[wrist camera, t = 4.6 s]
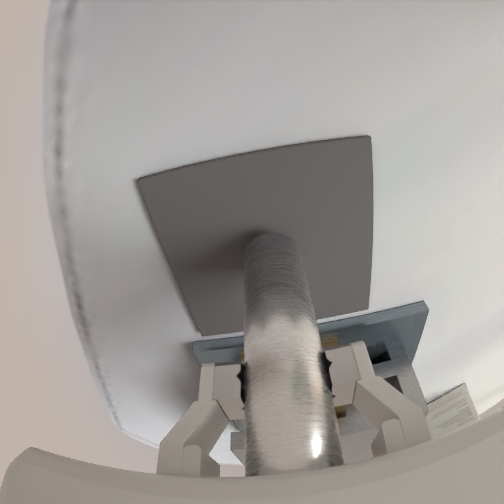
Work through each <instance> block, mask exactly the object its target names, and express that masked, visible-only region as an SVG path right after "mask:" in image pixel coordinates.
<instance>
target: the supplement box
mask: <svg viewBox="0 0 504 504" xmlns="http://www.w3.org/2000/svg"><path fill="white" fill-rule="evenodd" d="M427 407H428V410H429V413H428V414H427V416H426V417H425V420H426V423H427V426H428V429H429V433H430V436H431V439H434V438H437V437H440V436H442V435H445V434H447V433H450V432H452V431H454V430H457V429H459V428H461V427H464V426H466V425H468V424H470V423H472V422H475V421H477V420H479V419H480V417H479V415H478V412H477V410H476V407H475V405H474V403H473V400H472V398H471V395H470V393H469V391H468V388H467V386H466V383H464V384H462V385H460V386H459V387H457V388H455V389H454V390H452V391H450V392H449V393H447V394H445V395H443V396H442V397H440V398H438V399H436V400H435V401H433V402H431V403H429V404H427Z"/></svg>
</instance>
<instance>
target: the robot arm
mask: <svg viewBox="0 0 504 504" xmlns="http://www.w3.org/2000/svg"><path fill="white" fill-rule="evenodd" d="M323 354H324V359H325V364H326V368H327V372H328V378H329V383H330V388H331V393H332V397H333V402H334V407H335V406H341V405H346V404H352V403H353V404H352V405H353V406H354V407H355V408H356V409H357V410H358V411H359V412H360V413H361V414H362V415H363V416H364V417H365V418H366V419H367V420H368V421H369V422H370V423H371V424H372V425H373V426H374V427H375V428H376V429H377V430H378V433H377V435H376V437H375V439H374V441H373V443H372V444H371V449H372V454H373V458H371V459H367V460H362V461H358V462H354V463H349V464H344V465H339V466H334V467H329V468H323V469H317V470H310V471H304V472H297V473H288V474H277V475H265V476H249V477H220V465H219V464H218V463H217V462H216V461H215V460H213V459H212V458H211V457H210V456H209V455H208V454H209V453H210V451H211V450H212V448H213V447H214V445H215V444H216V442H217V440H218V439H219V437H220V436H221V434H222V432H223V431H224V429H225V428H226V426H227V424H228V423H229V420H236V419H245V417H244V363H243V361H231V362H219V363H205V364H202V367H201V374H200V384H199V394H198V401H194V402H193V403H192V405H191V406H190V407H189V408H188V410H187V411H186V412H185V413H184V415H183V416H182V417H181V418H180V420H179V421H178V422H177V423H176V424H175V426H174V427H173V428H172V429H171V431H170V432H169V433H168V434H167V435H166V437H165V438H164V439H163V440H162V441H161V443H160V448H159V455H158V463H157V472H156V474H153V473H144V472H137V471H130V470H123V469H117V468H112V467H106V466H101V465H96V464H92V463H88V462H83V461H79V460H75V459H71V458H67V457H64V456H60V455H56V454H53V453H50V452H47V451H43V450H41V449H38V448H33V447H30V448H27V449H26V450H24V451H23V452H22V453H21V454H20V455H19V456H18V457H16V458H15V459H14V460H13V461H12V462H11V463H10V465H9V466H8V468H7V471H6V473H5V476H4V479H3V482H2V486H1V490H0V504H504V407H502V408H500V409H499V410H497V411H495V412H493V413H491V414H489V415H487V416H485V417H483V418H481V419H479V420H477V421H475V422H472V423H470V424H468V425H466V426H464V427H461V428H459V429H457V430H454V431H452V432H450V433H447V434H445V435H442V436H440V437H437V438H434V439H431V436H430V433H429V429H428V426H427V423H426V420H425V417H424V414H423V411H422V409H421V408H420V407H418V406H417V405H416V404H415V403H413V402H412V401H411V400H409V399H408V398H407V397H406V396H404V395H403V394H402V393H400V392H399V391H398V390H397V389H395V388H394V387H393V386H392V385H390V384H389V383H388V382H386V381H385V380H384V379H383V378H381V377H380V376H375V373H374V370H373V367H372V364H371V361H370V358H369V355H368V352H367V349H366V346H365V343H364V342H363V341H358V342H354V343H347V344H343V345H338V346H333V347H328V348H324V349H323Z"/></svg>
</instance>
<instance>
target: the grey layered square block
mask: <svg viewBox="0 0 504 504" xmlns="http://www.w3.org/2000/svg"><path fill="white" fill-rule="evenodd" d="M428 312H429V309H428V307H427V305H426V303H425V302H424V301H422V302H418V303H414V304H410V305H406V306H402V307H398V308H393V309H389V310H385V311H381V312H376V313H372V314H367V315H363V316H358V317H353V318H348V319H343V320H338V321H333V322H328V323H323V324H317V326H318V330H319V335H320V339H321V344H322V348H323V349H324V348H328V347H333V346H338V345H343V344H347V343H354V342H358V341H363V342H364V343H365V346H366V349H367V352H368V355H369V358H370V361H371V364H372V367H373V370H374V373H375V376H380V377H381V378H383V379H384V380H385V381H386V382H388V383H389V384H390V385H392V386H393V387H394V388H395V389H397V390H398V391H399V392H400V393H402V394H403V395H404V396H406V397H407V398H408V399H409V400H411V401H412V402H413V403H415V404H416V405H417V406H418V407H420V408H421V409H422V411H423V414H424V417H426V416H427V414H428V413H429V410H428V407H427V404H426V401H425V399H424V396H423V393H422V390H421V388H420V385H419V383H418V380H417V377H416V375H415V372H414V370H413V367H412V365H411V364H412V362H413V359H414V356H415V353H416V350H417V347H418V344H419V341H420V338H421V335H422V332H423V329H424V326H425V322H426V319H427V315H428ZM193 354H194V356H195V357H196V359H197V361H198V363H199V365H200V366H201V367H202V364H205V363H219V362H231V361H243V363H244V336H241V337H233V338H225V339H217V340H208V341H199V342H194V346H193ZM352 404H353V403H352ZM352 404H346V405H341V406H335V412H336V418H337V423H338V429H339V434H340V440H341V445H342V451H343V457H344V463H345V464H349V463H354V462H358V461H362V460H367V459H371V458H373V454H372V449H371V444H372V443H373V441H374V439H375V437H376V435H377V433H378V430H377V429H376V428H375V427H374V426H373V425H372V424H371V423H370V422H369V421H368V420H367V419H366V418H365V417H364V416H363V415H362V414H361V413H360V412H359V411H358V410H357V409H356V408H355V407H354V406H353V405H352ZM233 421H234V423H235V424H236V426H237V427H238V429H239V430H240V432H231V451H232V452H233V453H234V455H235V456H236V457H237V458H238V459H239V460H240V461H241V462H242V463H243V465H244V466H245V419H236V420H233Z"/></svg>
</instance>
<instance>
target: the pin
mask: <svg viewBox="0 0 504 504" xmlns="http://www.w3.org/2000/svg"><path fill="white" fill-rule="evenodd" d="M244 417H245V477H249V476H265V475H277V474H288V473H297V472H304V471H310V470H317V469H323V468H329V467H334V466H339V465H344V464H345V463H344V457H343V451H342V445H341V440H340V434H339V429H338V423H337V418H336V412H335V407H334V402H333V397H332V393H331V388H330V383H329V378H328V372H327V368H326V364H325V359H324V354H323V348H322V344H321V339H320V335H319V330H318V326H317V322H316V317H315V313H314V309H313V304H312V300H311V296H310V292H309V288H308V283H307V279H306V275H305V271H304V267H303V263H302V259H301V255H300V252H299V248H298V246H297V244H296V243H295V241H294V240H293V239H292V238H290V237H289V236H287V235H284V234H281V233H265V234H262V235H259V236H257V237H255V238H254V239H253V240H251V241H250V242H249V244H248V245H247V247H246V248H245V251H244Z"/></svg>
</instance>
